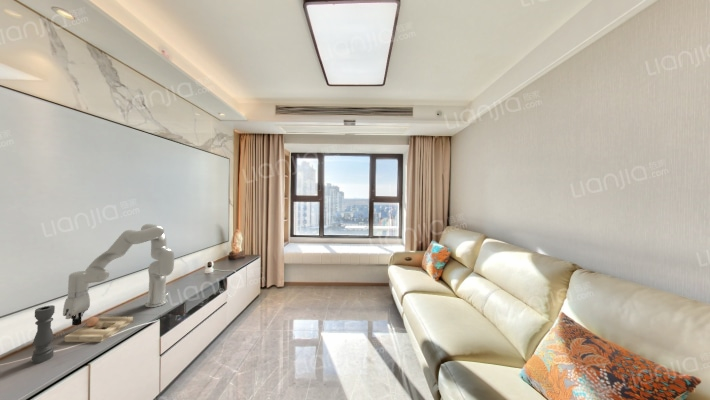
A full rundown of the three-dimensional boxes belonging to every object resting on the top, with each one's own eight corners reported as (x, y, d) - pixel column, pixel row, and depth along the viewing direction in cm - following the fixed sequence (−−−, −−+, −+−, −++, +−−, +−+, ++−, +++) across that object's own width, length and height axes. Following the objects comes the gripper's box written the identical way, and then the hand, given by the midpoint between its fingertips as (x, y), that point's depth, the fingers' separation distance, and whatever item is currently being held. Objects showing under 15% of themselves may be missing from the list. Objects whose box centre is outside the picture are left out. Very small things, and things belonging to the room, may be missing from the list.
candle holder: (42, 363, 108) (45, 311, 108) (26, 364, 107) (29, 311, 107) (57, 354, 114) (59, 305, 114) (42, 354, 113) (44, 305, 113)
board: (101, 321, 143) (101, 316, 143) (132, 321, 145) (133, 316, 145) (64, 341, 123) (64, 336, 123) (101, 341, 125) (101, 336, 125)
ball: (92, 323, 136) (92, 315, 136) (101, 323, 136) (101, 315, 136) (82, 328, 131) (83, 319, 131) (92, 328, 131) (93, 319, 131)
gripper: (84, 287, 139) (83, 317, 140) (55, 299, 124) (53, 332, 125) (98, 288, 140) (97, 317, 140) (70, 299, 125) (69, 332, 125)
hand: (76, 324), depth 133 cm, fingers closed
